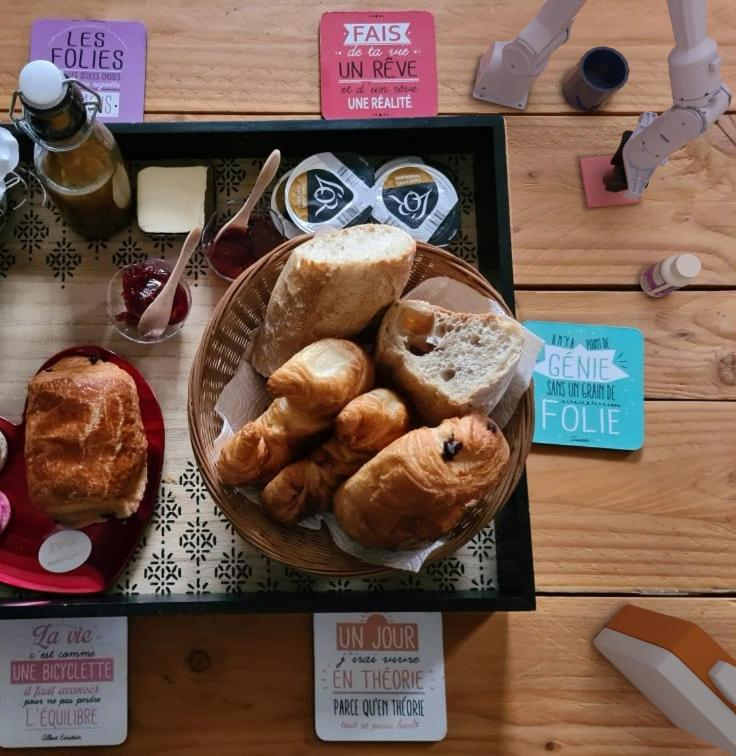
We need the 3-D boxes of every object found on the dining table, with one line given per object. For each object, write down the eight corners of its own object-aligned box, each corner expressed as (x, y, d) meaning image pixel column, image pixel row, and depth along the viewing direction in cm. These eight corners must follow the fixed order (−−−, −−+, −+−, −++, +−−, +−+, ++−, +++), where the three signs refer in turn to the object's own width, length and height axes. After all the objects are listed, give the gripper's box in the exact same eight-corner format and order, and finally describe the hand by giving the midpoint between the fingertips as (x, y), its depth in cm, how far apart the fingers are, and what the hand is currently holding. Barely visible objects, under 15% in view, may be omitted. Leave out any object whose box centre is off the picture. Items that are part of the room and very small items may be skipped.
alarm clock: (711, 685, 116) (815, 727, 95) (675, 727, 115) (773, 778, 94) (622, 600, 118) (706, 623, 97) (587, 640, 117) (664, 672, 96)
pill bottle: (673, 275, 126) (710, 257, 116) (663, 302, 125) (699, 287, 115) (644, 262, 126) (679, 243, 117) (633, 289, 125) (667, 273, 116)
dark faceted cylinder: (558, 105, 130) (575, 85, 124) (567, 63, 131) (585, 41, 125) (604, 116, 130) (624, 97, 124) (613, 74, 131) (633, 53, 125)
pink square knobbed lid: (586, 207, 127) (599, 198, 123) (578, 159, 129) (590, 148, 125) (637, 203, 128) (651, 193, 123) (628, 155, 129) (642, 144, 125)
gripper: (677, 189, 112) (628, 221, 125) (693, 103, 114) (643, 144, 127) (632, 177, 112) (588, 211, 125) (648, 92, 114) (603, 134, 128)
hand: (613, 176), depth 126 cm, fingers open, 4 cm apart
